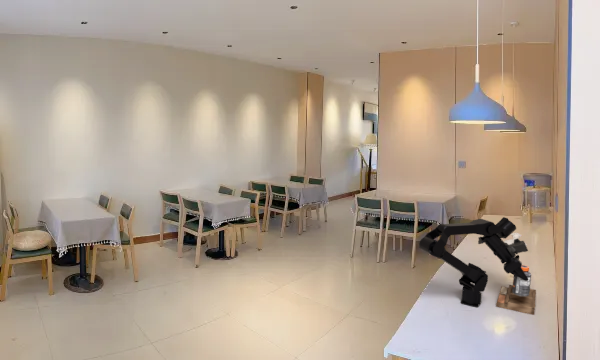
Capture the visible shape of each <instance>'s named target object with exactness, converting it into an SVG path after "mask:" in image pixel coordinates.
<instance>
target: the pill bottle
mask: <svg viewBox="0 0 600 360" xmlns="http://www.w3.org/2000/svg"><path fill="white" fill-rule="evenodd" d="M521 268H522V270H523V271H524V273H525V274H526V276H527V278H528V280H527V281H525V280H523V279H521V278H519V277H517V276H515V275H513V280H512V285H513V288H512V292H513V293H514V294H516V295H518V296H529V292H530V289H531V281H532V274H531V272H530V266H528V265H525V264H522V266H521Z"/></svg>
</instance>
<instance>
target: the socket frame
mask: <svg viewBox="0 0 600 360" xmlns="http://www.w3.org/2000/svg"><path fill="white" fill-rule="evenodd" d="M508 285H509V286H503V285H501V286H500V290H499V292H498V296H497V299H496V302H495V307H496V308H501V309H506V310H510V311H513V312H517V313H518V312H519V313H523V314H527V315H533V316H535V310H536V296H537V295H536V294H537V290H536V289H534V288H530V292H529V296H518V295H516V294H514V293H513V292H512V288H513V284H508Z"/></svg>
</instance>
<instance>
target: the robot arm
mask: <svg viewBox="0 0 600 360" xmlns="http://www.w3.org/2000/svg"><path fill="white" fill-rule="evenodd" d="M516 230H517V226H516V224H514V223H513V222H512V221H511V220H510V219H508V217H505V216H504V217H502V218H501V219H500V220H499V221H497V223H495V222H493V221H490V220H487V219H483V218H477V219H474V220H472V221H470V222H459V223H440V224H438V225H437V226H436V227H435V228H434V229H432V230H431V231H429V232H426V234H425V236H424V237H422V238H421V239H420V241H419V243H418V244H419V247H418V248H419V249H420V250H421V251H422V252H424V253H427V254H428V255H430V256H433V257H435V258H437V259H439V260H441V261H443V262H444V263H446V264H447V265H449V266H451V267H452V268H454V269H455V270H457V271H458V272H460V273H461V277H460V278H459V279H458V283H459V285H460V286H462V290H461V292H462V294H461V301H460V304H462V305H467V306H471V307H476V308H479V306H480V305H481V303H482V296H483V292H484V291H485V290H486V286H487V284H488V281H489V275H488V274H487V271H485V270H483V269H482V268H481V267H480V266H478V265H476V264H473V263H471V262H468V264H467V263H465V262H464V261H462V260H461V259H459V258H458V257H456V256H455V255H453V254H452V253H450V252H449V251H447V249H446V245H447V243H448V240H449V238H450V237H451V236H458V235H473V234H474V235H480V236H478V238H477V239H478V243H477V244H478V245H481V244H485V245H486V246H487V247H488V248H489V249H490V250H491V252H492V253H493V255H494V256H496V257H497V258H498V259H499V260H500V263H501V264H502V265H503V271H504V272H505V273H506V274H508V275H509V274H511V275H513V276H514V275H515V276H517V277H519V278H521V279H523V280H525V281H527V280H528V278H527V276H526V274H525V273H524V271H523V270H522V268H521V266H522V265H523V263H522V261H520V255H519V254H520V253H526V252H528V251H529V249H528V246H527V247H526V244H527V243H526V242H525V240H521V239H520V238H519V239H514V243H512V244H510V245H508V244H507V243H504V241H503V239H507V238H508V237H510V236H511V233H515V231H516ZM438 237H439V239H438V240H436V239H437V238H438ZM525 243H526V244H525Z"/></svg>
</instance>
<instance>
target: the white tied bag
mask: <svg viewBox="0 0 600 360" xmlns="http://www.w3.org/2000/svg"><path fill="white" fill-rule="evenodd" d="M510 236H512V238H510V239H505V240H504V241H503V242H504V243H507V244H508V245H510V244H512V243H514V239H519V240H520V238H521V237H522V234H521V233H519V232H513V233H511V234H510ZM525 244H526V247H527V248H528V243H526V242H525Z"/></svg>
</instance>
